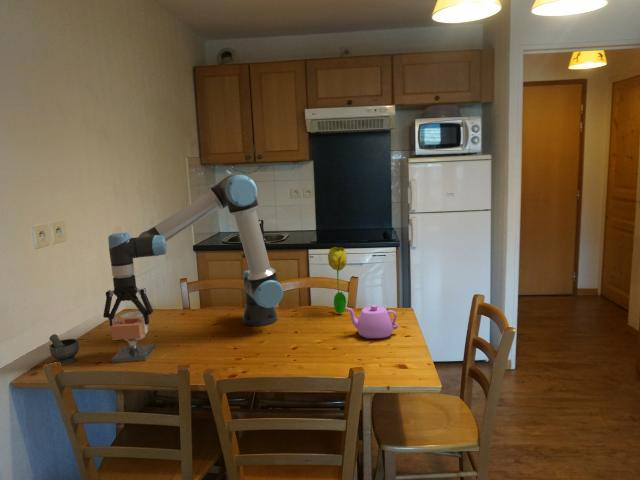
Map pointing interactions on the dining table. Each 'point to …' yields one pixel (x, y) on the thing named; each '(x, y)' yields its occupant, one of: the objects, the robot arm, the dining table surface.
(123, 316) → the mug
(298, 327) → the dining table surface
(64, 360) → the mortar and pestle
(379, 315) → the teapot
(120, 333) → the terracotta brick slab
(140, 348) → the block
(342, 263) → the flower
